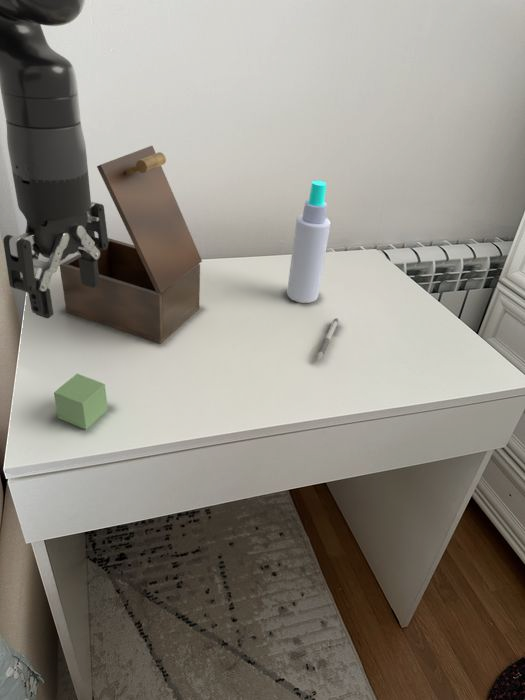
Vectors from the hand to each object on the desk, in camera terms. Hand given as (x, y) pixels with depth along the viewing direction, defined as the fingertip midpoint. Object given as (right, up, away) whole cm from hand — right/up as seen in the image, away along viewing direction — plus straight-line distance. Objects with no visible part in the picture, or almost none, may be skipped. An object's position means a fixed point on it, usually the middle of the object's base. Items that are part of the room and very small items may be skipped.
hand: (68, 299), depth 65 cm
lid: (+7, +14, +17) cm, 23 cm away
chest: (+1, +1, +28) cm, 28 cm away
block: (0, -15, +6) cm, 16 cm away
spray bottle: (+31, +4, +38) cm, 49 cm away
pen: (+35, -5, +25) cm, 43 cm away
